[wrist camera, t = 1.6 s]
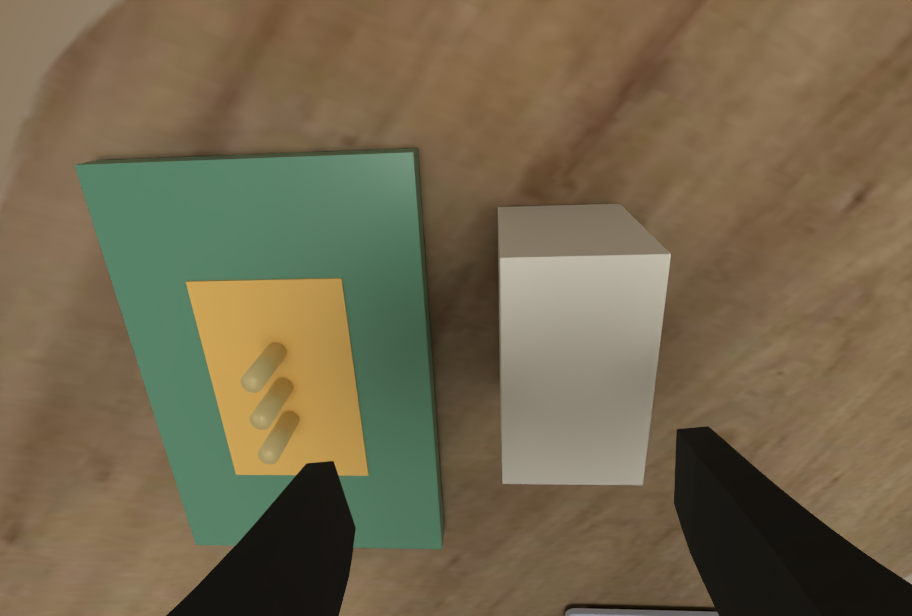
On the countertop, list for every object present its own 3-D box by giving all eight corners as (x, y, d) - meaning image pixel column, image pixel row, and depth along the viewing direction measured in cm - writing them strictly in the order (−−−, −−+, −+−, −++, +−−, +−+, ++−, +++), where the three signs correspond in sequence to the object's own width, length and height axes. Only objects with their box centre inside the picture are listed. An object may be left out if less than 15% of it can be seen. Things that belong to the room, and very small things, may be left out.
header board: (417, 147, 19) (401, 163, 15) (444, 529, 26) (437, 597, 23) (97, 160, 20) (16, 177, 16) (208, 525, 27) (167, 590, 23)
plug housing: (619, 203, 19) (670, 253, 14) (605, 384, 22) (642, 484, 17) (497, 207, 20) (499, 257, 14) (499, 385, 23) (502, 484, 17)
